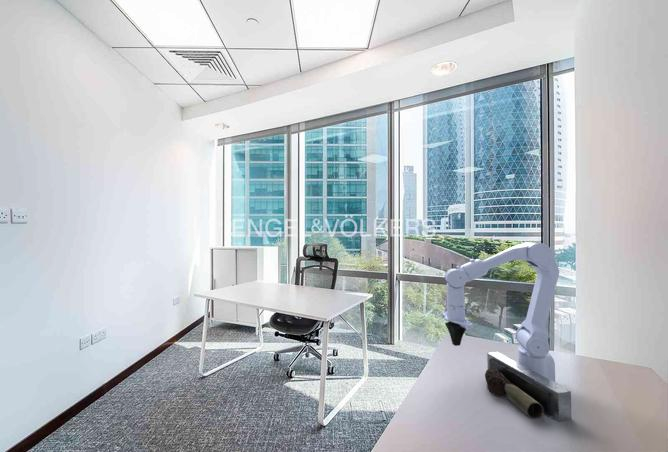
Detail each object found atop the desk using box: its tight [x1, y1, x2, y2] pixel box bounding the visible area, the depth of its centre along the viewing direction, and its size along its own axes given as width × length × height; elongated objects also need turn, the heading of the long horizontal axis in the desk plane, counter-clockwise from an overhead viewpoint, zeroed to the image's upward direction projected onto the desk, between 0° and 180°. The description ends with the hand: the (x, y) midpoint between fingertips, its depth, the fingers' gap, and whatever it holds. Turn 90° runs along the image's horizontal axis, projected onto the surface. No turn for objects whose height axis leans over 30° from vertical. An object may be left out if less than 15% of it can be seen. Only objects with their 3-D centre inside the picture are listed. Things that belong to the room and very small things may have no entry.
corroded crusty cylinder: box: [484, 368, 544, 419], centre depth 80 cm, size 18×7×6 cm, turn 8°
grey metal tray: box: [486, 351, 573, 422], centre depth 82 cm, size 5×24×7 cm, turn 12°
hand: (456, 344), depth 95 cm, fingers closed
